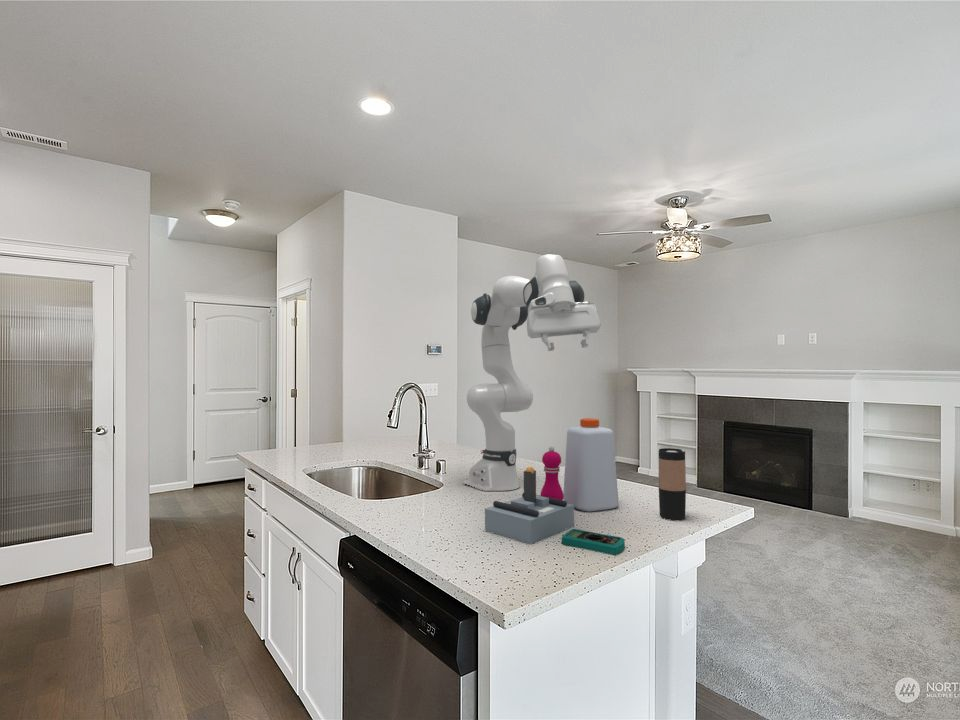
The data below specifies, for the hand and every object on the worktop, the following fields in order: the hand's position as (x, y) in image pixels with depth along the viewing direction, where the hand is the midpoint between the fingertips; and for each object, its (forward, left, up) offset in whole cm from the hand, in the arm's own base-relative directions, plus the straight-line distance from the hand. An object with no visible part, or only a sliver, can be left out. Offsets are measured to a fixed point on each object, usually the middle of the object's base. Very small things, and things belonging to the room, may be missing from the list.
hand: (568, 348), depth 136 cm
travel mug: (+14, +34, -50) cm, 62 cm away
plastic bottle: (-11, +29, -50) cm, 59 cm away
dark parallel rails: (-11, -3, -44) cm, 46 cm away
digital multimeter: (+9, -3, -51) cm, 52 cm away
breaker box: (-11, -3, -50) cm, 51 cm away
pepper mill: (-17, +16, -50) cm, 55 cm away
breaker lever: (-11, -3, -43) cm, 45 cm away
